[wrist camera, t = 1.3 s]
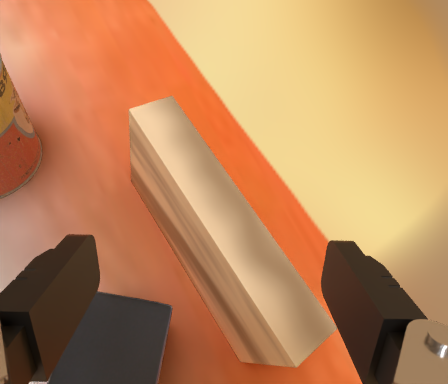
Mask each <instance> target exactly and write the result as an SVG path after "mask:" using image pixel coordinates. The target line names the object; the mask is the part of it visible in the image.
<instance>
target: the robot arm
mask: <svg viewBox="0 0 448 384" xmlns="http://www.w3.org/2000/svg"><path fill="white" fill-rule="evenodd" d="M99 282H100V270H99V264H98V257H97V250H96V243H95V239H94V237H93V236H92V235H75V234H69V235H67V236H66V237H65V238H64V239H63V240H62V241H61V242H60V243H59V244H58V245H57V246H56V248H55V249H49V250H47V251H46V252H44V253H42V254H41V255H39V256H37V257H35V258H34V259H33V260H32V261H31V262H30V263H29V264H28V265H27V266H26V268H25V270H24V271H22V272H21V273H20V274H19V275H18V276H17V277H16V279H15V280H13V281H12V282H11V283H10V284H9V285H8V286H7V287H6V288H5V289H4V290H3V291H2V292H1V293H0V384H28V383H29V382H30V381H39V382H47V381H48V379H49V378H50V376H51V374H52V372H53V370H54V369H55V367H56V365H57V363H58V361H59V359H60V358H61V356H62V354H63V352H64V350H65V349H66V347H67V345H68V343H69V341H70V340H71V338H72V336H73V334H74V332H75V330H76V329H77V327H78V325H79V323H80V321H81V320H82V318H83V316H84V314H85V312H86V310H87V309H88V307H89V305H90V303H91V301H92V300H93V298H94V296H95V294H96V292H97V290H98V287H99ZM321 288H322V293H323V296H324V299H325V301H326V303H327V306H328V308H329V310H330V312H331V314H332V317H333V319H334V321H335V323H336V326H337V328H338V330H339V332H340V334H341V337H342V339H343V341H344V343H345V345H346V348H347V350H348V352H349V354H350V357H351V359H352V361H353V363H354V365H355V368H356V370H357V372H358V374H359V377H360V379H361V381H362V383H363V384H448V326H446V325H444V324H441V323H439V322H436V321H432V320H428V319H427V317H426V316H425V315H424V314H423V313H422V311H421V310H420V309H419V308H418V306H416V304H415V303H414V302H413V300H412V299H411V298H410V297H409V296H408V294H407V293H406V292H405V291H404V290H403V288H400V285H399V283H398V282H397V281H396V280H395V279H394V278H392V275H391V274H390V273H389V271H388V270H387V269H386V268H385V267H384V266H383V265H382V264H381V263H379V262H378V261H376V260H375V259H373V258H372V257H371V256H365V255H364V254H363V252H362V251H361V250H360V248H359V247H358V246H357V245H356V243H355V242H354V241H330V242H329V243H328V246H327V250H326V256H325V261H324V267H323V272H322V278H321Z"/></svg>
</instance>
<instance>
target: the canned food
mask: <svg viewBox="0 0 448 384" xmlns="http://www.w3.org/2000/svg"><path fill="white" fill-rule="evenodd" d="M41 158H42V145H41V142H40V139H39V137H38V135H37V133H36V132H35V130H34V128H33V126H32V124H31V122H30V119H29V117H28V115H27V113H26V111H25V109H24V107H23V104H22V102H21V100H20V98H19V96H18V94H17V91H16V89H15V87H14V85H13V83H12V81H11V78H10V76H9V74H8V72H7V70H6V68H5V65H4V63H3V61H2V58H1V54H0V198H2V197H5V196H7V195H9V194H11V193H13V192H15V191H16V190H18V189H19V188H21V187H22V186H23V185H24V184H26V183H27V182H28V181H29V180H30V179H31V178H32V176H33V175H34V174H35V172H36V171H37V169H38V167H39V165H40V162H41Z"/></svg>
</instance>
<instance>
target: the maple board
mask: <svg viewBox="0 0 448 384" xmlns="http://www.w3.org/2000/svg"><path fill="white" fill-rule="evenodd" d="M129 132H130V162H131V182H132V183H133V185H134V187H135V188H136V190H137V192H138V193H139V195H140V196H141V198H142V200H143V201H144V203H145V205H146V206H147V208H148V210H149V211H150V213H151V215H152V216H153V218H154V220H155V221H156V223H157V225H158V226H159V228H160V230H161V231H162V233H163V235H164V236H165V238H166V240H167V241H168V243H169V245H170V246H171V248H172V250H173V251H174V253H175V255H176V256H177V258H178V260H179V261H180V263H181V265H182V266H183V268H184V270H185V271H186V273H187V274H188V276H189V278H190V279H191V281H192V283H193V284H194V286H195V288H196V289H197V291H198V293H199V294H200V296H201V298H202V299H203V301H204V303H205V304H206V306H207V308H208V309H209V311H210V313H211V314H212V316H213V318H214V319H215V321H216V323H217V324H218V326H219V328H220V329H221V331H222V333H223V334H224V336H225V338H226V339H227V341H228V343H229V344H230V346H231V348H232V349H233V351H234V353H235V354H236V356H237V357H238V359H239V361H240V362H246V363H255V364H265V365H275V366H285V367H295V368H297V367H298V366H299V365H300V364H301V363H302V362H303V361H304V360H305V359H306V358H307V357H308V356H309V355H310V354H311V353H312V352H313V351H314V350H315V349H317V348H318V347H319V346H320V345H321V344H322V343H323V342H324V341H325V340H326V339H327V338H328V337H329V336H330V335H331V334H332V333H333V332H334V331H335V330H336V329H337V327H336V325H335V324H334V323H333V321H332V320H331V318H330V317H329V316H328V314H327V313H326V311H325V310H324V308H323V307H322V306H321V304H320V303H319V301H318V300H317V299H316V297H315V296H314V294H313V293H312V292H311V290H310V289H309V287H308V286H307V285H306V283H305V282H304V280H303V279H302V278H301V276H300V275H299V273H298V272H297V270H296V269H295V268H294V266H293V265H292V263H291V262H290V261H289V259H288V258H287V256H286V255H285V254H284V252H283V251H282V249H281V248H280V247H279V245H278V244H277V242H276V241H275V240H274V238H273V237H272V235H271V234H270V233H269V231H268V230H267V228H266V227H265V225H264V224H263V223H262V221H261V220H260V218H259V217H258V216H257V214H256V213H255V211H254V210H253V209H252V207H251V206H250V204H249V203H248V202H247V200H246V199H245V197H244V196H243V195H242V193H241V192H240V190H239V189H238V187H237V186H236V185H235V183H234V182H233V180H232V179H231V178H230V176H229V175H228V173H227V172H226V171H225V169H224V168H223V166H222V165H221V164H220V162H219V161H218V159H217V158H216V157H215V155H214V154H213V152H212V151H211V149H210V148H209V147H208V145H207V144H206V142H205V141H204V140H203V138H202V137H201V135H200V134H199V133H198V131H197V130H196V128H195V127H194V126H193V124H192V123H191V121H190V120H189V119H188V117H187V116H186V114H185V113H184V112H183V110H182V109H181V107H180V106H179V104H178V103H177V102H176V100H175V99H174V97H173V96H170V97H166V98H163V99H160V100H157V101H154V102H150V103H147V104H144V105H141V106H138V107H135V108H131V109H129Z"/></svg>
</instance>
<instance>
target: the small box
mask: <svg viewBox="0 0 448 384" xmlns="http://www.w3.org/2000/svg"><path fill="white" fill-rule="evenodd" d="M171 313H172V306H171V305H167V304H163V303H158V302H153V301H148V300H143V299H138V298H131V297H126V296H120V295H115V294H109V293H103V292H98V291H97V292H96V294H95V296H94V298H93V300H92V301H91V303H90V305H89V307H88V309H87V310H86V312H85V314H84V316H83V318H82V320H81V321H80V323H79V325H78V327H77V329H76V330H75V332H74V334H73V336H72V338H71V340H70V341H69V343H68V345H67V347H66V349H65V350H64V352H63V354H62V356H61V358H60V359H59V361H58V363H57V365H56V367H55V369H54V370H53V372H52V374H51V376H50V378H49V380H48V382H47V384H158V382H159V376H160V371H161V366H162V361H163V356H164V351H165V345H166V340H167V335H168V330H169V325H170V319H171Z"/></svg>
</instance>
